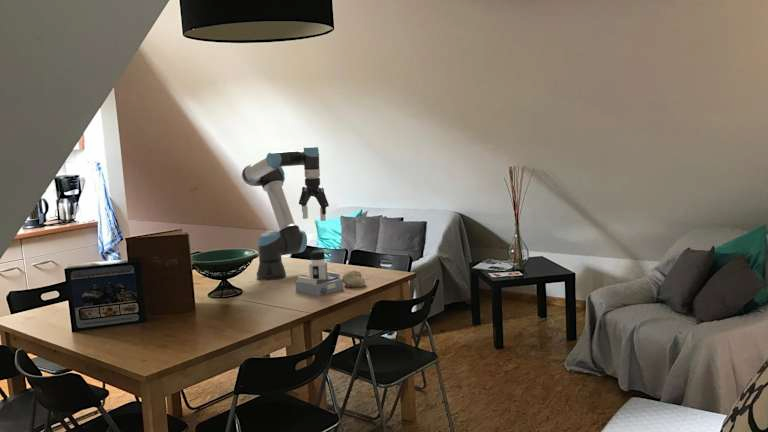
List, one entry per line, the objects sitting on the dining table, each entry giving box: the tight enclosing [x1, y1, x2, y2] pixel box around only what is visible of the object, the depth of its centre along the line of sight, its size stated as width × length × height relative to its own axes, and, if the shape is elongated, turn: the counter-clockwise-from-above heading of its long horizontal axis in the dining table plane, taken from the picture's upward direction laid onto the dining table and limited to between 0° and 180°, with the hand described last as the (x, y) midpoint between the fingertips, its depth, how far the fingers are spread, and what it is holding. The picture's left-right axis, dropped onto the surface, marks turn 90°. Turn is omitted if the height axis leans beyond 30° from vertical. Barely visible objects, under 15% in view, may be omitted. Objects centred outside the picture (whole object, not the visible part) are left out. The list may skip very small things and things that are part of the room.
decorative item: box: [341, 270, 366, 288], centre depth 327 cm, size 12×9×10 cm
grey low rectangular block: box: [294, 270, 344, 297], centre depth 321 cm, size 17×16×7 cm
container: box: [308, 250, 328, 280], centre depth 320 cm, size 8×8×13 cm
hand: (314, 219), depth 339 cm, fingers open, 13 cm apart
